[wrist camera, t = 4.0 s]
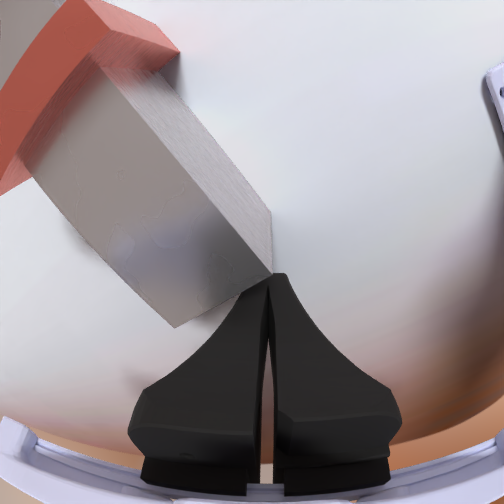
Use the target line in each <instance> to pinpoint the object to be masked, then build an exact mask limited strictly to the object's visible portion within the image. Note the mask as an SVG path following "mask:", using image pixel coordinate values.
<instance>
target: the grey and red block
mask: <svg viewBox="0 0 504 504" xmlns="http://www.w3.org/2000/svg"><path fill="white" fill-rule="evenodd" d="M179 53H180V51H179V50H178V49H177V48H176V47H175V45H174V44H173V43H172V42H171V41H170V40H169V39H168V38H167V37H166V35H165V34H164V33H163V32H162V31H161V30H160V29H159V28H158V27H157V26H156V24H154V23H152V22H150V21H147V20H145V19H143V18H141V17H139V16H137V15H135V14H132V13H130V12H128V11H126V10H123V9H121V8H119V7H116V6H114V5H112V4H109V3H107V2H104V1H102V0H0V196H1V195H3V194H4V193H6V192H7V191H9V190H11V189H12V188H14V187H16V186H17V185H19V184H21V183H22V182H24V181H26V180H28V179H29V178H31V177H33V178H34V179H35V180H36V182H37V183H38V184H39V186H40V187H41V188H42V189H43V191H44V192H45V193H46V194H47V196H48V197H49V198H50V199H51V201H52V202H53V203H54V204H55V206H56V207H57V208H58V209H59V210H60V212H61V213H62V214H63V215H64V216H65V217H66V219H67V220H68V221H69V222H70V223H71V224H72V226H73V227H74V228H75V229H76V230H77V231H78V232H79V234H80V235H81V236H82V237H83V238H84V239H85V240H86V241H87V242H88V244H89V245H90V246H91V247H92V248H93V249H94V250H95V251H96V252H97V253H98V254H99V255H100V257H101V258H102V259H103V260H104V261H105V262H106V263H107V264H108V265H109V266H110V267H111V268H112V269H113V270H114V271H115V272H116V273H117V274H118V275H119V276H120V277H121V278H122V279H123V280H124V281H125V282H126V283H127V284H128V285H129V286H130V287H131V288H132V289H133V290H134V291H135V292H136V293H137V294H138V295H139V296H140V297H141V298H142V299H143V300H144V301H145V302H146V303H147V304H148V305H149V306H151V307H152V308H153V309H154V310H155V311H156V312H157V313H158V314H159V315H160V316H161V317H162V318H163V319H165V320H166V321H167V322H168V323H169V324H170V325H171V326H172V327H173V328H177V327H178V326H180V325H182V324H184V323H186V322H188V321H190V320H191V319H193V318H195V317H197V316H199V315H201V314H203V313H204V312H206V311H208V310H210V309H212V308H214V307H215V306H217V305H219V304H221V303H223V302H225V301H226V300H228V299H230V298H232V297H234V296H236V295H237V294H239V293H241V292H243V291H245V290H246V289H248V288H250V287H252V286H254V285H255V284H257V283H259V282H261V281H262V280H264V279H266V278H268V277H270V276H271V275H273V272H272V235H271V211H270V210H269V209H268V207H267V206H266V205H265V203H264V202H263V201H262V199H261V198H260V197H259V196H258V194H257V193H256V192H255V190H254V189H253V188H252V186H251V185H250V184H249V183H248V181H247V180H246V179H245V177H244V176H243V175H242V174H241V172H240V171H239V170H238V168H237V167H236V166H235V165H234V163H233V162H232V161H231V159H230V158H229V157H228V156H227V154H226V153H225V152H224V151H223V149H222V148H221V147H220V146H219V144H218V143H217V142H216V141H215V139H214V138H213V137H212V136H211V134H210V133H209V132H208V131H207V129H206V128H205V127H204V126H203V125H202V123H201V122H200V121H199V120H198V118H197V117H196V116H195V115H194V113H193V112H192V111H191V110H190V109H189V107H188V106H187V105H186V104H185V103H184V101H183V100H182V99H181V98H180V97H179V95H178V94H177V93H176V92H175V91H174V89H173V88H172V87H171V86H170V85H169V84H168V82H167V81H166V80H165V79H164V78H163V76H162V75H161V74H160V73H159V72H158V70H160V69H161V68H162V67H163V66H164V65H165V64H167V63H168V62H169V61H170V60H171V59H173V58H174V57H175V56H176V55H178V54H179Z"/></svg>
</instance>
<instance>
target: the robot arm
mask: <svg viewBox="0 0 504 504" xmlns="http://www.w3.org/2000/svg"><path fill="white" fill-rule="evenodd" d="M486 82H487V86H488V88H489V91H490V93H491V96H492V99H493V101H494V104H495V107H496V110H497V113H498V116H499V119H500V122H501V125H502V128H503V132H504V62H503V63H501V64H499V65H497V66H495V67H493V68H492V69H490V70H489V71H488V72H487V74H486ZM500 88H501V90H502V96H500ZM268 338H269V347H270V357H271V366H272V376H273V387H274V447H273V484H260V460H261V418H262V388H263V379H264V370H265V362H266V354H267V345H268ZM401 425H402V418H401V414H400V410H399V407H398V405H397V403H396V400H395V398H394V396H393V394H392V392H391V390H390V389H389V388H388V387H386V386H384V385H383V384H381V383H380V382H378V381H377V380H375V379H373V378H372V377H370V376H369V375H367V374H366V373H364V372H363V371H362V370H361V369H359V368H358V367H357V366H355V365H354V364H353V363H352V362H351V361H350V360H349V359H347V358H346V357H345V356H344V355H343V354H342V353H341V352H340V351H338V350H337V349H336V347H335V346H334V345H333V344H332V343H331V342H330V341H329V340H328V339H327V338H326V337H325V336H324V335H323V333H322V332H321V331H320V330H319V329H318V327H317V326H316V325H315V323H314V322H313V321H312V319H311V318H310V317H309V315H308V314H307V312H306V311H305V309H304V308H303V306H302V304H301V303H300V301H299V300H298V298H297V296H296V294H295V292H294V290H293V289H292V286H291V284H290V282H289V280H288V277H287V275H286V274H285V273H273V275H271V276H270V277H268V278H266V279H264V280H262V281H261V282H259V283H257V284H255V285H254V286H252V287H250V288H248V289H246V290H245V291H243V292H242V293H241V295H240V296H239V298H238V300H237V301H236V303H235V305H234V306H233V308H232V310H231V311H230V312H229V314H228V315H227V317H226V318H225V319H224V321H223V322H222V324H221V325H220V326H219V327H218V329H217V330H216V331H215V332H214V333H213V334H212V336H211V337H210V338H209V339H208V340H207V341H206V342H205V343H204V344H203V345H202V346H201V347H200V348H199V349H198V350H197V351H196V352H195V353H194V354H193V355H192V356H191V357H189V358H188V359H187V360H186V361H185V362H183V363H182V364H181V365H180V366H178V367H177V368H176V369H175V370H173V371H172V372H171V373H169V374H168V375H167V376H165V377H163V378H162V379H160V380H159V381H157V382H156V383H154V384H152V385H151V386H149V387H147V388H146V389H144V390H143V391H142V393H141V395H140V397H139V399H138V401H137V404H136V406H135V408H134V411H133V414H132V417H131V420H130V423H129V427H128V435H129V437H130V439H131V440H132V442H133V443H134V444H135V445H136V446H137V448H138V449H139V450H140V451H141V452H142V453H143V454H144V456H145V459H144V463H143V467H142V470H137V469H133V468H129V467H125V466H121V465H117V464H113V463H109V462H106V461H102V460H99V459H96V458H93V457H90V456H86V455H83V454H80V453H77V452H74V451H72V450H69V449H66V448H63V447H61V446H58V445H56V444H53V443H50V442H48V441H45V440H43V439H41V438H38V437H37V436H36V434H35V433H34V432H33V431H31V430H30V429H29V428H28V427H26V426H25V425H23V424H21V423H19V422H17V421H15V420H13V419H11V418H9V417H7V416H4V417H3V419H2V421H1V423H0V478H2V479H4V480H5V481H7V482H8V483H10V484H11V485H13V486H15V487H16V488H18V489H20V490H21V491H23V492H25V493H26V494H28V495H30V496H32V497H33V498H35V499H37V500H39V501H41V502H43V503H45V504H489V503H491V502H493V501H495V500H496V499H498V498H500V497H502V496H504V428H503V429H502V430H501V431H500V432H499V433H498V434H497V435H496V437H495V438H492V439H490V440H488V441H485V442H483V443H481V444H478V445H476V446H473V447H470V448H468V449H465V450H463V451H460V452H457V453H454V454H451V455H448V456H445V457H442V458H438V459H435V460H432V461H428V462H425V463H421V464H418V465H414V466H410V467H406V468H402V469H397V470H393V471H390V470H389V464H388V459H387V457H389V456H390V450H389V445H388V443H389V442H390V441H391V439H392V438H393V437H394V436H395V434H396V433H397V432H398V430H399V429H400V427H401ZM170 498H171V499H177V500H175V501H174V502H173V501H172V500H171V499H170ZM352 500H357V502H356V503H351V502H350V501H352Z"/></svg>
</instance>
